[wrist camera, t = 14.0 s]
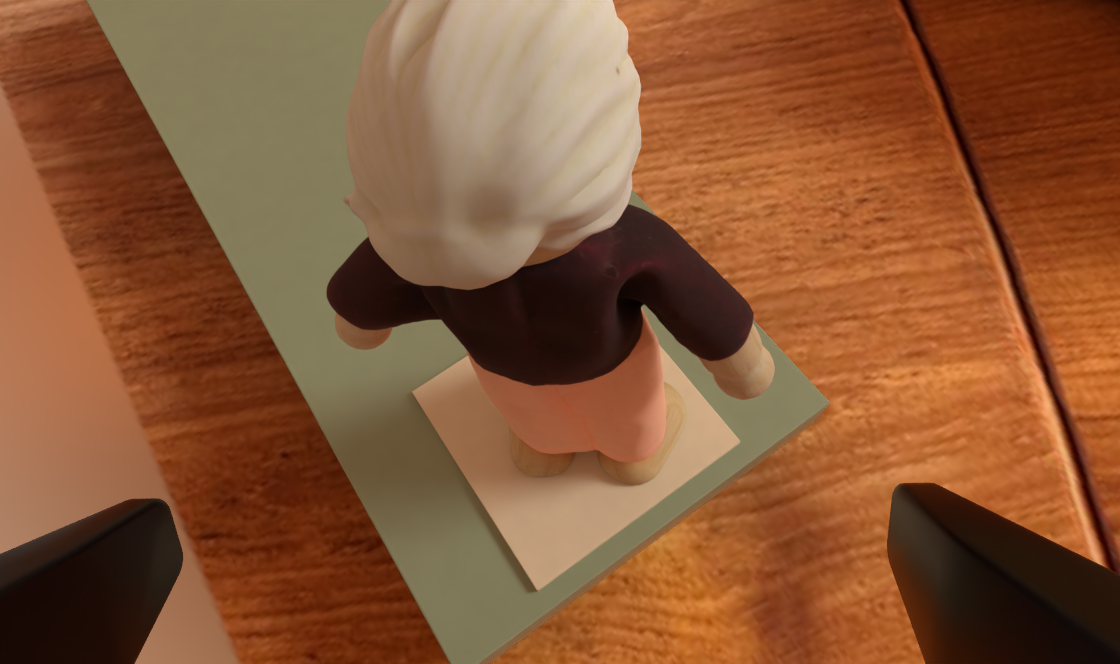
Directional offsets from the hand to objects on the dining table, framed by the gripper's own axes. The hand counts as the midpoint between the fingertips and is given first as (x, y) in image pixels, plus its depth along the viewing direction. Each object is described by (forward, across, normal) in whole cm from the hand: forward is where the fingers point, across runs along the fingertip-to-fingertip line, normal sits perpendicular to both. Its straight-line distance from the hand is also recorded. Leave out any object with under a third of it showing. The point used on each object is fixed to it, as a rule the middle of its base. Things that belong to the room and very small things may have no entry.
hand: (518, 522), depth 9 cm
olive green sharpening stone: (+19, +7, -2) cm, 20 cm away
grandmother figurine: (+9, 0, +3) cm, 9 cm away
